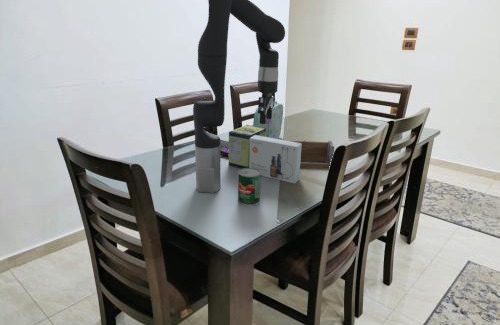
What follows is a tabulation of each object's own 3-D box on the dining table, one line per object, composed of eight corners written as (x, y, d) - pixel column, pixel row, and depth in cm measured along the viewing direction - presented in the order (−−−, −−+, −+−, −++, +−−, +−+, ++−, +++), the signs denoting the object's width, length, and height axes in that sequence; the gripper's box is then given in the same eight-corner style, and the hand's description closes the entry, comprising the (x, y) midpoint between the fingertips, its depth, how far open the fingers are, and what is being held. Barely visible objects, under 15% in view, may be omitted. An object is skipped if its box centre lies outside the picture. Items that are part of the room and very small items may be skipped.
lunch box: (265, 134, 207) (266, 97, 199) (282, 136, 204) (284, 99, 196) (250, 147, 183) (251, 106, 176) (269, 150, 180) (271, 108, 173)
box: (198, 152, 178) (230, 159, 167) (198, 145, 176) (230, 152, 166) (216, 144, 188) (247, 151, 178) (216, 138, 187) (247, 144, 177)
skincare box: (248, 173, 151) (249, 137, 145) (254, 169, 155) (255, 134, 150) (294, 184, 142) (297, 146, 136) (299, 179, 146) (302, 142, 141)
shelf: (331, 168, 158) (334, 147, 155) (268, 166, 159) (269, 144, 156) (328, 160, 168) (330, 139, 165) (268, 157, 170) (269, 137, 166)
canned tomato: (260, 196, 131) (261, 168, 127) (259, 206, 124) (260, 176, 120) (238, 195, 131) (238, 167, 127) (237, 205, 124) (237, 175, 120)
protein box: (265, 160, 167) (266, 127, 161) (248, 170, 154) (248, 135, 149) (246, 155, 172) (246, 124, 166) (228, 165, 159) (228, 131, 154)
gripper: (272, 82, 126) (270, 126, 132) (282, 77, 139) (279, 118, 145) (252, 80, 128) (250, 124, 134) (263, 76, 141) (262, 116, 147)
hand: (265, 121), depth 139 cm, fingers open, 8 cm apart
